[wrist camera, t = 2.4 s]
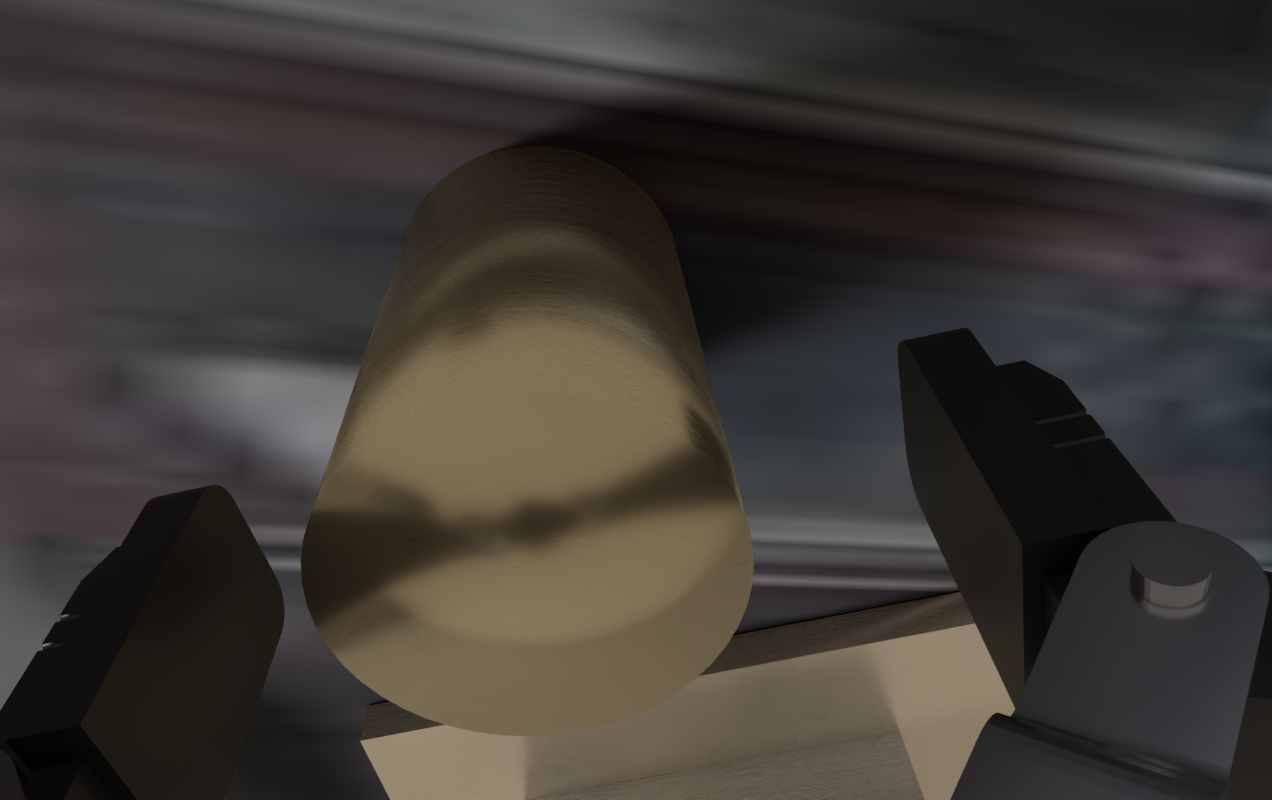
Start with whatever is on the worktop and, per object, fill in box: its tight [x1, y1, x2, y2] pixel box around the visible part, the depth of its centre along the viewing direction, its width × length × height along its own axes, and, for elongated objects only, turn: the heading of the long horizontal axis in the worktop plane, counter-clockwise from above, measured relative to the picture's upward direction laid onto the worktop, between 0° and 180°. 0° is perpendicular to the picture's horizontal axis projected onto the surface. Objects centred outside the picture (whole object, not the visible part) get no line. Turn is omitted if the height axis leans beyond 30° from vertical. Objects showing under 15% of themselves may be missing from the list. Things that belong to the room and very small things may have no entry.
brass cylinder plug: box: [301, 146, 754, 736], centre depth 15 cm, size 5×5×8 cm
